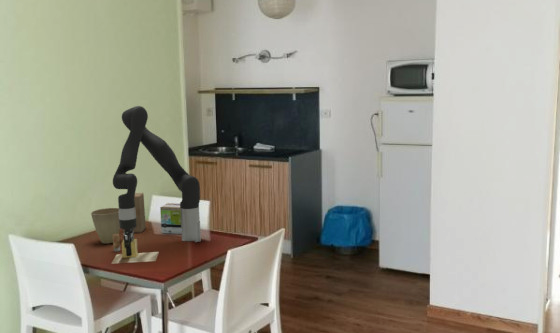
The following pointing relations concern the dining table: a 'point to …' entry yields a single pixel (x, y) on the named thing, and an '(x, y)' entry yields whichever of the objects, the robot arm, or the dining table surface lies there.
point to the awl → (116, 242)
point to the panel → (136, 258)
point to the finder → (133, 249)
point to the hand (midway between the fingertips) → (130, 253)
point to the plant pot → (106, 223)
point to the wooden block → (139, 213)
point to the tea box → (171, 218)
